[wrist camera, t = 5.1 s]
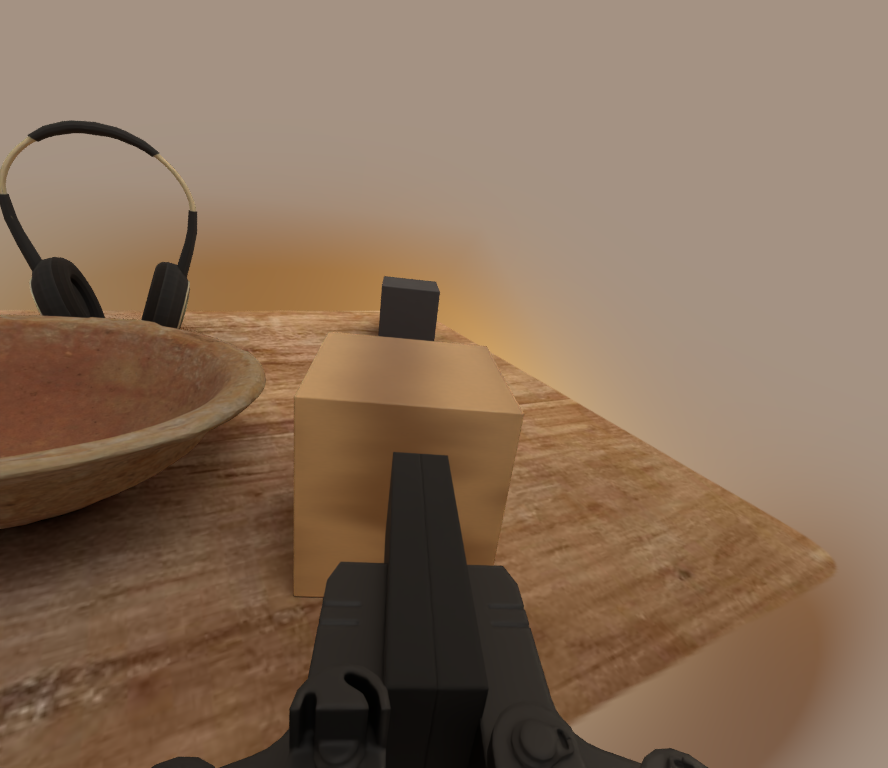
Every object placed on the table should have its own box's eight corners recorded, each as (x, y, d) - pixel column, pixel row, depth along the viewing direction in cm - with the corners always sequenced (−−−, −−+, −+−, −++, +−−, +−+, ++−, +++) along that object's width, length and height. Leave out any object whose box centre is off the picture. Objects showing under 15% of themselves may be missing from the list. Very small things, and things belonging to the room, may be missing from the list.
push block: (463, 491, 31) (487, 345, 27) (486, 601, 22) (524, 413, 19) (323, 483, 30) (328, 331, 26) (293, 596, 21) (293, 396, 18)
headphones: (208, 355, 47) (193, 134, 40) (17, 363, 41) (-44, 97, 33) (204, 331, 54) (191, 139, 47) (40, 333, 47) (-5, 109, 40)
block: (430, 331, 66) (436, 281, 63) (433, 346, 60) (439, 291, 57) (380, 326, 65) (384, 276, 63) (377, 341, 59) (382, 285, 56)
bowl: (333, 526, 26) (339, 395, 23) (-594, 886, 11) (-918, 634, 8) (204, 379, 42) (198, 291, 39) (-245, 442, 27) (-310, 304, 24)
